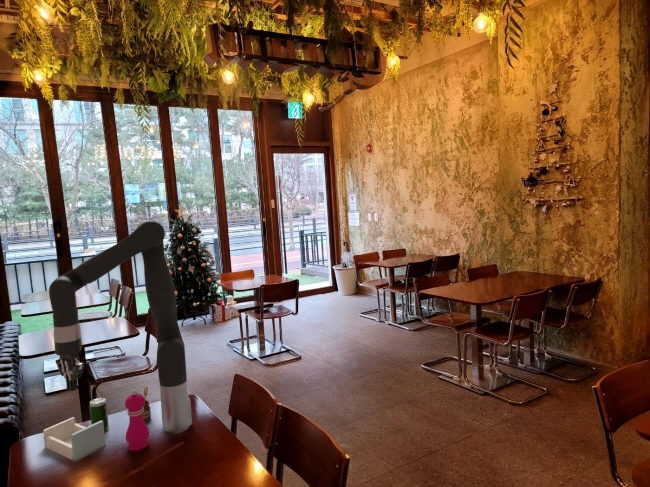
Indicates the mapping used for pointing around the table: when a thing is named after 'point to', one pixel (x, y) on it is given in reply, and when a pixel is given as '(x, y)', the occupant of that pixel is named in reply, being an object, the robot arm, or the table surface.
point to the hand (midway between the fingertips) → (72, 389)
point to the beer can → (99, 412)
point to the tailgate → (88, 440)
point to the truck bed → (61, 437)
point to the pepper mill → (136, 422)
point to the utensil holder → (146, 408)
